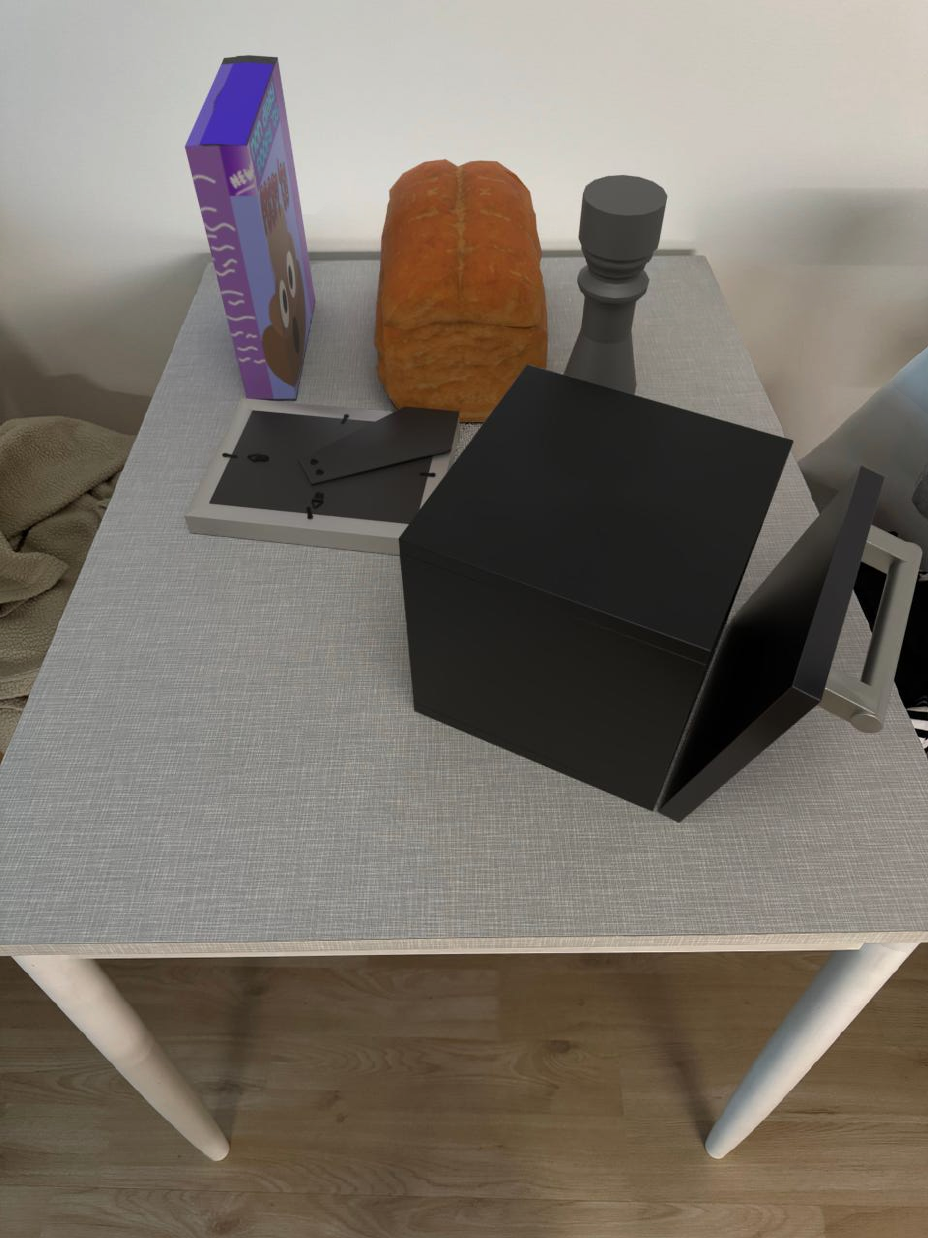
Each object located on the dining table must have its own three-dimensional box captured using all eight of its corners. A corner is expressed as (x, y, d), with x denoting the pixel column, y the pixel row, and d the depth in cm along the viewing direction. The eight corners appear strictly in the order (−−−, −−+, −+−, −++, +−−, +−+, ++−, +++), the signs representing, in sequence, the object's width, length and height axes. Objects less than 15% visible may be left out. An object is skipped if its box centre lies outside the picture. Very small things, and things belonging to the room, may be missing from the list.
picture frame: (459, 435, 82) (245, 415, 84) (459, 411, 80) (239, 391, 82) (431, 558, 72) (190, 532, 74) (429, 535, 70) (181, 508, 72)
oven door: (801, 655, 67) (951, 509, 53) (738, 855, 57) (902, 744, 43) (731, 619, 68) (861, 464, 53) (657, 811, 58) (791, 686, 43)
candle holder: (603, 444, 81) (646, 167, 61) (632, 487, 77) (687, 208, 58) (541, 458, 80) (564, 180, 60) (567, 503, 76) (601, 223, 57)
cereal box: (296, 400, 85) (246, 142, 66) (247, 400, 85) (184, 143, 66) (315, 300, 96) (277, 54, 77) (271, 300, 96) (223, 54, 77)
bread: (377, 426, 83) (360, 270, 70) (388, 274, 99) (376, 126, 87) (547, 424, 83) (561, 267, 70) (530, 272, 99) (538, 123, 87)
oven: (727, 620, 68) (794, 439, 54) (652, 811, 58) (711, 651, 44) (515, 546, 73) (526, 363, 59) (413, 711, 63) (397, 538, 49)
